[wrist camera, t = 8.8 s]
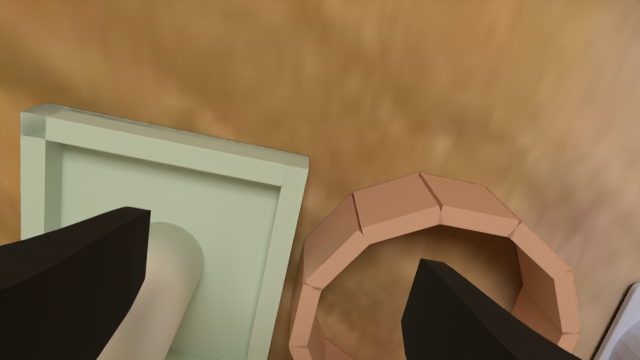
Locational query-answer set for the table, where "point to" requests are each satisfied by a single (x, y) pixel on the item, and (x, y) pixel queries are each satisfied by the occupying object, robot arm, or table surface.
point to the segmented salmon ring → (415, 214)
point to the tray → (176, 211)
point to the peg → (159, 296)
